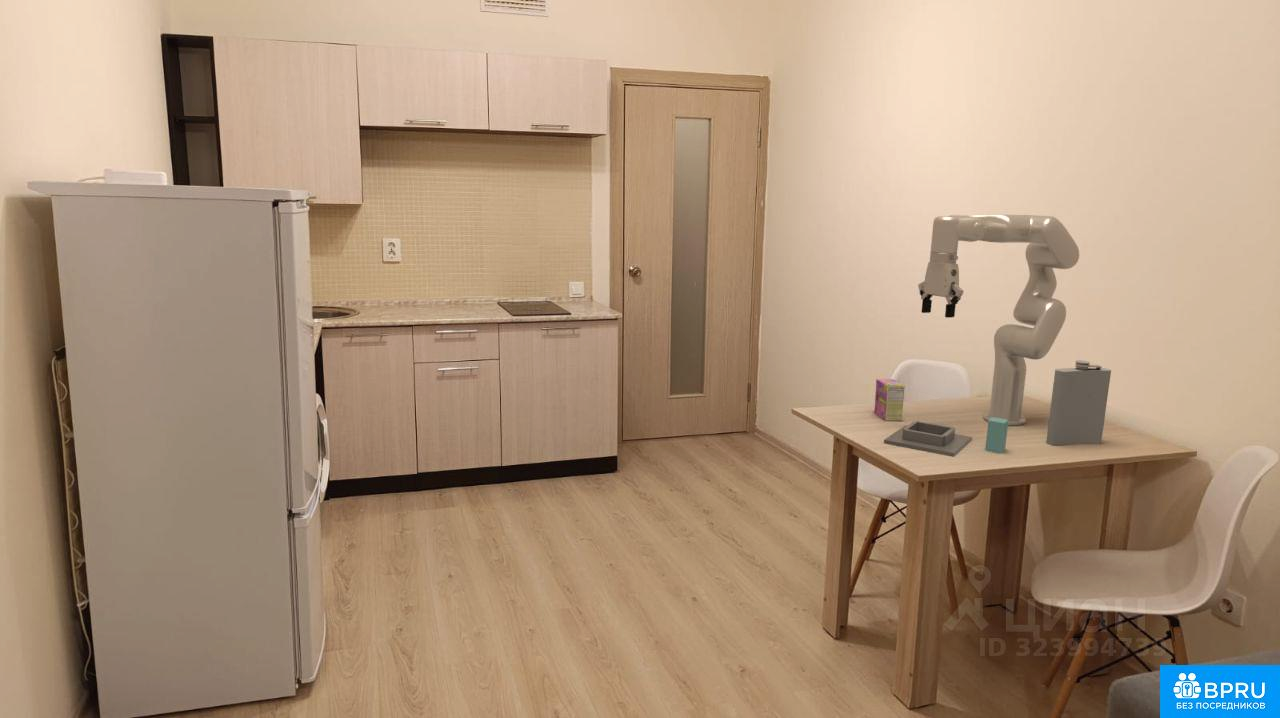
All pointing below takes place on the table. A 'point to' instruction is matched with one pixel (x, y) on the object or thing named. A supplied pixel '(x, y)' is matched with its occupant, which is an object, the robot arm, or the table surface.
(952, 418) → the table surface
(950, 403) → the table surface
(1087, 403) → the flask
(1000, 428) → the block
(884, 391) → the box
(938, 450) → the well
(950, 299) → the robot arm
